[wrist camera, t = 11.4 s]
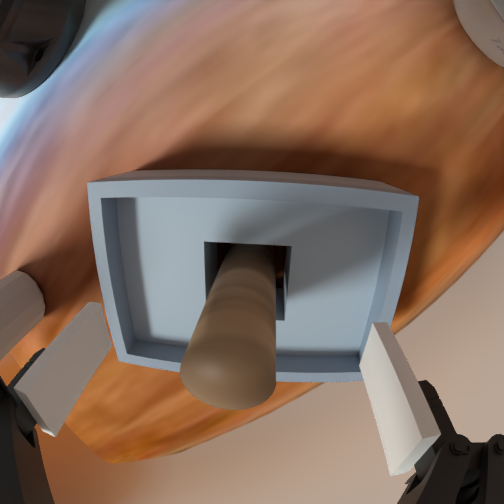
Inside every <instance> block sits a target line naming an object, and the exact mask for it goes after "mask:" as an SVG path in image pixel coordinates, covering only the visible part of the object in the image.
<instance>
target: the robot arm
mask: <svg viewBox="0 0 504 504" xmlns="http://www.w3.org/2000/svg"><path fill="white" fill-rule="evenodd" d="M84 7H85V0H0V98H18V97H21V96H24V95H26V94H28V93H29V92H31V91H32V90H34V89H35V88H36V87H38V86H39V85H40V84H41V83H42V82H43V81H44V80H45V79H46V78H47V77H48V76H49V75H50V74H51V72H52V71H53V70H54V69H55V67H56V66H57V65H58V63H59V62H60V61H61V59H62V58H63V56H64V55H65V53H66V51H67V50H68V48H69V46H70V45H71V43H72V41H73V39H74V37H75V35H76V32H77V30H78V28H79V25H80V22H81V19H82V16H83V12H84ZM111 347H112V344H111V340H110V337H109V333H108V329H107V326H106V322H105V318H104V314H103V310H102V306H101V303H95V302H88V303H87V304H86V305H85V306H84V307H83V308H82V309H81V310H80V312H79V313H78V314H77V315H76V316H75V317H74V318H73V319H72V320H71V321H70V322H69V323H68V324H67V326H66V327H65V328H64V329H63V330H62V331H61V332H60V333H59V334H58V335H57V337H56V338H55V339H54V340H53V341H52V342H51V343H50V345H49V346H48V347H47V348H46V349H45V348H42V349H41V350H39V351H38V352H36V353H35V354H34V355H33V356H32V357H31V358H30V359H29V362H27V363H26V364H25V365H24V368H22V369H21V370H20V371H19V373H18V374H17V375H16V376H15V377H14V379H13V380H12V381H11V382H10V384H9V385H8V386H6V385H5V383H4V381H3V380H2V378H1V376H0V504H55V503H54V500H53V497H52V494H51V491H50V488H49V484H48V481H47V477H46V473H45V469H44V465H43V461H42V456H41V452H40V446H39V441H38V436H37V432H36V429H35V428H34V427H35V425H36V423H37V424H38V425H39V426H40V428H41V429H42V430H43V431H44V432H46V433H48V434H50V435H52V436H54V437H56V435H57V434H58V432H59V430H60V428H61V427H62V425H63V423H64V422H65V420H66V418H67V417H68V415H69V413H70V412H71V410H72V408H73V407H74V405H75V403H76V402H77V400H78V398H79V397H80V395H81V394H82V392H83V390H84V389H85V387H86V386H87V384H88V382H89V381H90V379H91V378H92V376H93V375H94V373H95V371H96V370H97V368H98V367H99V365H100V364H101V362H102V361H103V359H104V358H105V356H106V355H107V353H108V352H109V350H110V349H111ZM359 367H360V370H361V373H362V376H363V379H364V382H365V386H366V389H367V392H368V395H369V399H370V402H371V405H372V409H373V412H374V416H375V420H376V423H377V427H378V430H379V434H380V438H381V441H382V445H383V448H384V453H385V457H386V461H387V465H388V469H389V473H390V476H393V475H397V474H402V473H406V472H408V471H409V470H410V469H411V468H412V467H413V466H415V469H416V473H414V474H413V475H412V476H411V477H410V478H409V479H408V480H407V482H406V483H405V484H408V483H409V484H408V486H407V488H406V490H405V491H404V493H403V495H402V496H401V498H400V500H399V501H398V503H397V504H504V435H502V434H496V435H494V436H492V437H491V438H490V439H489V441H488V442H485V443H484V442H483V443H472V442H470V441H469V440H468V438H466V437H465V436H463V435H460V434H457V433H456V431H455V429H454V427H453V425H452V423H451V421H450V418H449V416H448V414H447V412H446V410H445V408H444V406H443V404H442V402H441V400H440V399H439V396H438V394H437V392H436V390H435V388H434V387H433V386H432V385H431V384H430V383H429V382H428V381H427V380H424V381H417V379H416V377H415V375H414V373H413V371H412V369H411V367H410V365H409V363H408V361H407V359H406V357H405V355H404V353H403V351H402V349H401V347H400V345H399V344H398V342H397V340H396V338H395V336H394V334H393V332H392V330H391V329H390V327H389V325H388V323H387V322H373V323H372V326H371V330H370V333H369V336H368V340H367V343H366V346H365V349H364V352H363V355H362V358H361V361H360V364H359Z"/></svg>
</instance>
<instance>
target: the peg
mask: <svg viewBox="0 0 504 504" xmlns="http://www.w3.org/2000/svg"><path fill="white" fill-rule="evenodd" d="M180 377H181V380H182V382H183V384H184V386H185V388H186V389H187V390H188V391H189V392H190V393H191V394H192V395H193V396H194V397H196V398H197V399H199V400H200V401H202V402H204V403H206V404H208V405H211V406H214V407H217V408H221V409H228V410H241V409H248V408H252V407H255V406H257V405H259V404H261V403H263V402H264V401H266V400H267V399H268V398H269V397H270V396H271V395H272V393H273V391H274V389H275V386H276V270H275V251H274V248H273V246H272V245H262V244H244V243H231V244H230V245H229V247H228V250H227V252H226V255H225V257H224V259H223V262H222V264H221V266H220V269H219V271H218V274H217V276H216V278H215V281H214V283H213V286H212V288H211V290H210V293H209V295H208V298H207V300H206V303H205V305H204V308H203V310H202V312H201V315H200V317H199V320H198V322H197V325H196V327H195V330H194V332H193V335H192V337H191V340H190V342H189V345H188V347H187V350H186V352H185V355H184V357H183V360H182V362H181V366H180Z"/></svg>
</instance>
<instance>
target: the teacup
mask: <svg viewBox="0 0 504 504" xmlns="http://www.w3.org/2000/svg"><path fill="white" fill-rule="evenodd" d="M454 6H455V10H456V13H457V16H458V18H459V21H460V23H461V24H462V26H463V28H464V30H465V32H466V33H467V35H468V36H469V38H470V39H471V40H472V41H473V43H474V44H475V45H476V46H477V47H478V48H479V49H480V50H481V51H482V52H483V53H484V54H485V55H486V56H487V57H488V58H489V59H490V60H492V61H493V62H495V63H496V64H498V65H499V66H501V67H503V68H504V0H454Z"/></svg>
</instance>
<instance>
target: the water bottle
mask: <svg viewBox="0 0 504 504" xmlns="http://www.w3.org/2000/svg"><path fill="white" fill-rule="evenodd" d="M44 312H45V303H44V298H43V294H42V292H41V291H40V289H39V287H38V285H37V283H36V282H35V281H34V280H33V279H32V278H31V277H30V276H29V275H28V274H26V273H24V272H21V271H17V270H15V271H13V272H12V273H10V274H9V275H7V276H6V277H4V278H3V279H1V280H0V360H1V359H2V358H3V357H4V356H5V355H6V354H7V353H8V352H9V351H10V350H11V349H12V348H13V347H14V346H15V345H16V344H17V343H18V342H19V341H20V340H21V339H22V338H23V337H24V336H25V335H26V334H27V333H28V332H29V331H30V330H31V329H32V328H34V327H35V326H36V325H37V324H38V323H39V322H40V321H41V320H42V319H43V316H44Z"/></svg>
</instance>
